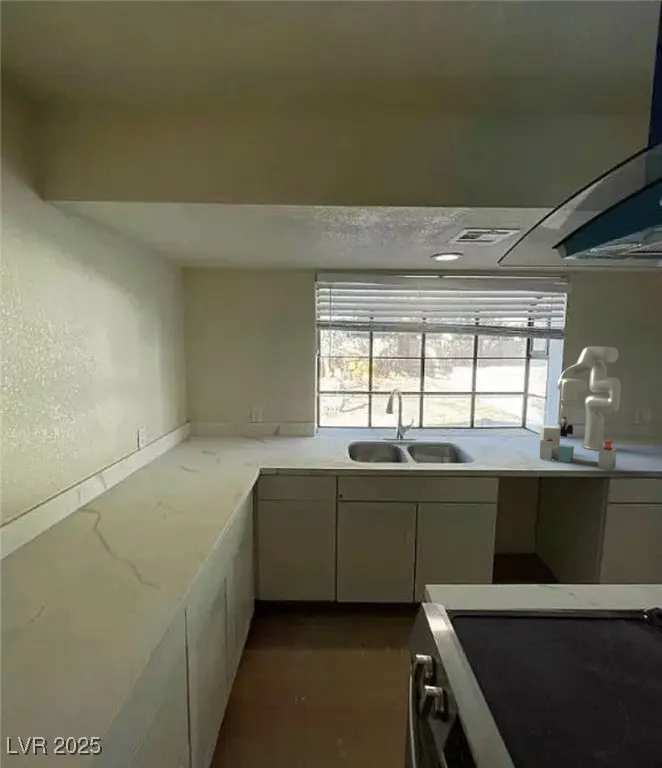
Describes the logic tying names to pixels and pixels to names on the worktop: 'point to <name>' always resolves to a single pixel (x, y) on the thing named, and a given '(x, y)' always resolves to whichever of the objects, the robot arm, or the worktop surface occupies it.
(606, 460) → the cabinet
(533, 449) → the worktop surface
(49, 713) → the worktop surface
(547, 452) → the cabinet
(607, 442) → the knob
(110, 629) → the worktop surface
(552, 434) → the supplement box
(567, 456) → the carriage
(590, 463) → the rail
